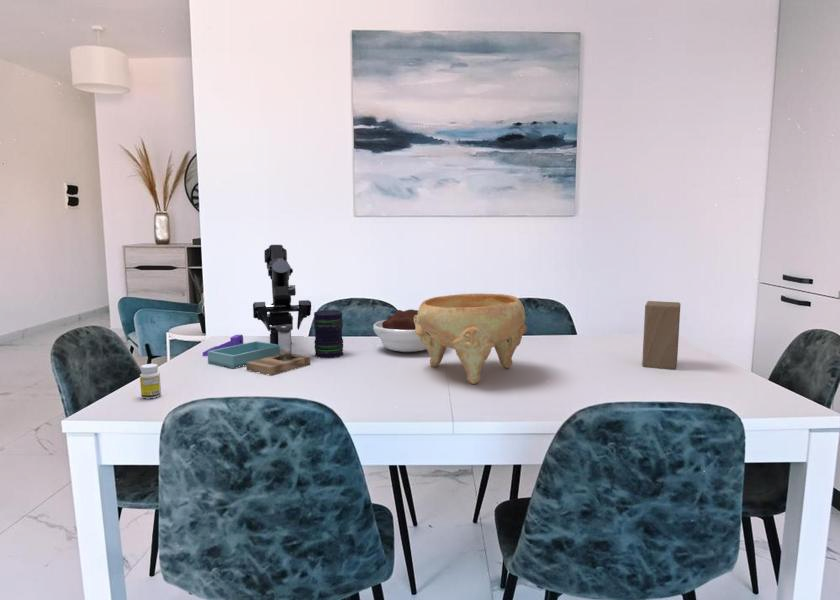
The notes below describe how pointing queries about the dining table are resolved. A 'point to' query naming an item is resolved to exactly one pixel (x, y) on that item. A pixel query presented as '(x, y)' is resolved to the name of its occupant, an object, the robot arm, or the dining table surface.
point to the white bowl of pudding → (399, 332)
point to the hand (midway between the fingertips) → (283, 329)
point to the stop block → (277, 364)
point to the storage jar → (328, 334)
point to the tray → (242, 354)
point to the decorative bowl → (471, 328)
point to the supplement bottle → (150, 381)
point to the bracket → (227, 344)
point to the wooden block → (661, 334)
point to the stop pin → (284, 341)
